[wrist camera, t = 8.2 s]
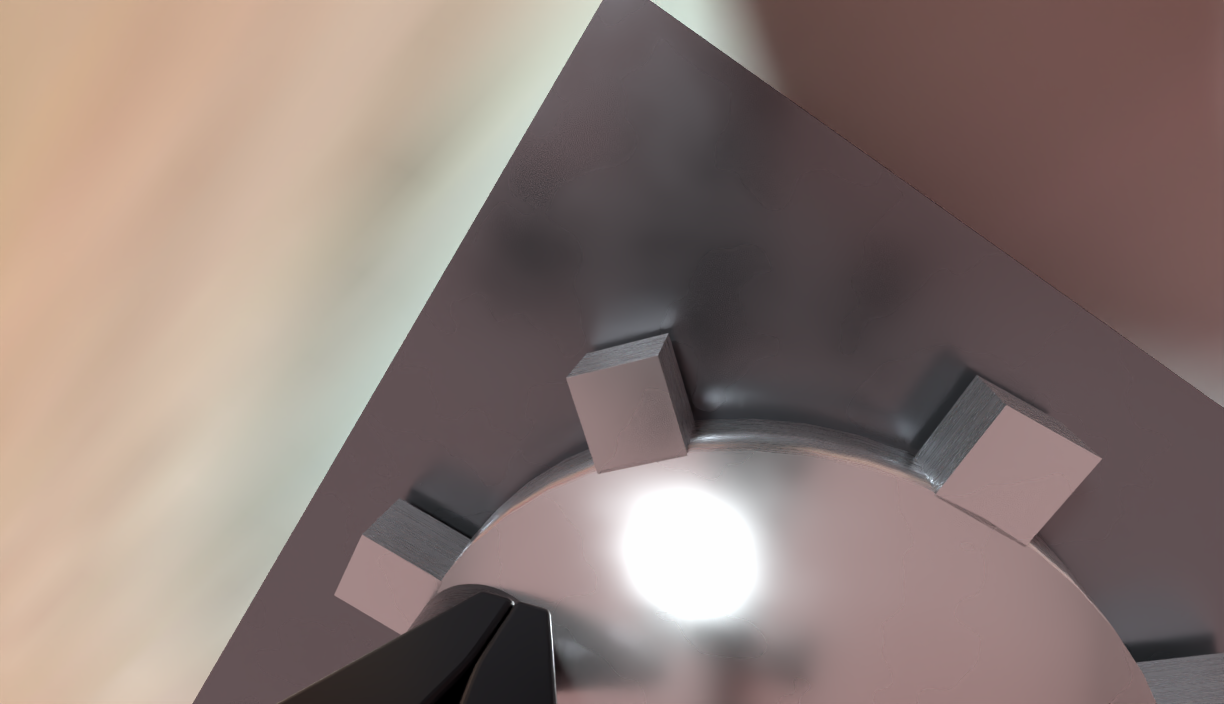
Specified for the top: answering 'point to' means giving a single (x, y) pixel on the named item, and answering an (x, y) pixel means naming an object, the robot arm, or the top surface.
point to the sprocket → (784, 559)
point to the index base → (737, 345)
